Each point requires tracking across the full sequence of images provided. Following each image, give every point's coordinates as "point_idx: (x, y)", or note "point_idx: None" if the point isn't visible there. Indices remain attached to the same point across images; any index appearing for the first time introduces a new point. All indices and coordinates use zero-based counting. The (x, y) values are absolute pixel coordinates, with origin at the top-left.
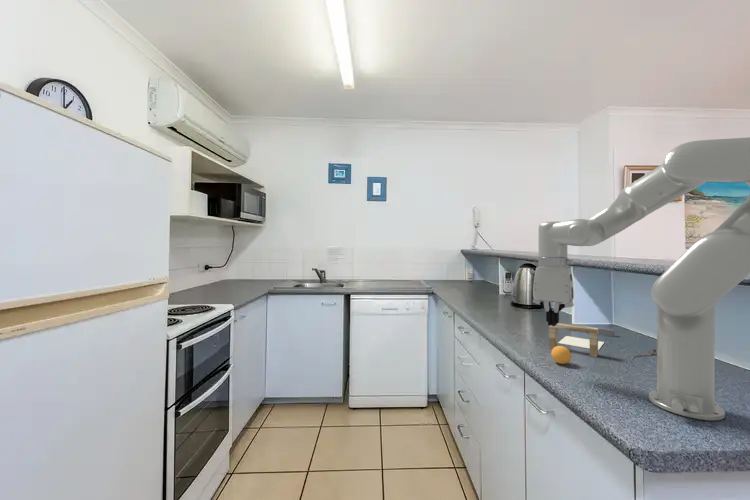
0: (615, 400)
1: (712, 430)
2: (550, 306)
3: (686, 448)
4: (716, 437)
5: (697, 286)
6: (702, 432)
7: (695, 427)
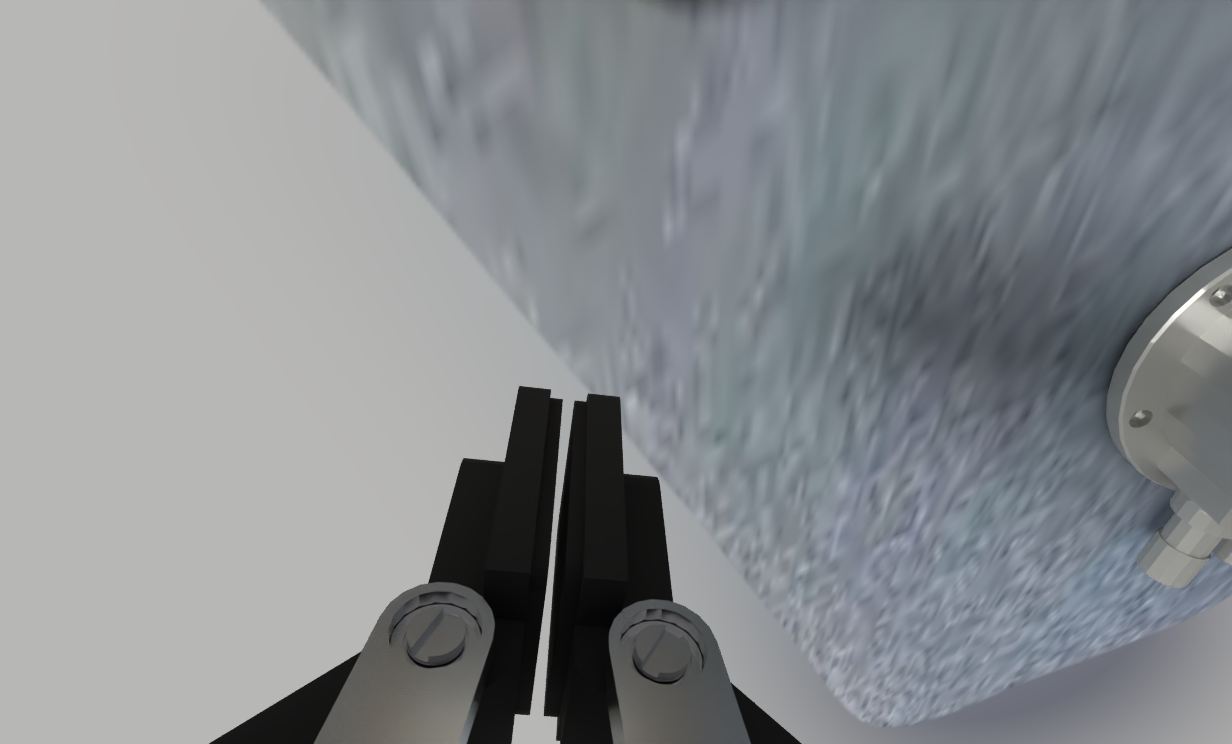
0: (918, 459)
1: None
2: (463, 724)
3: (1028, 675)
4: None
5: None
6: None
7: None
